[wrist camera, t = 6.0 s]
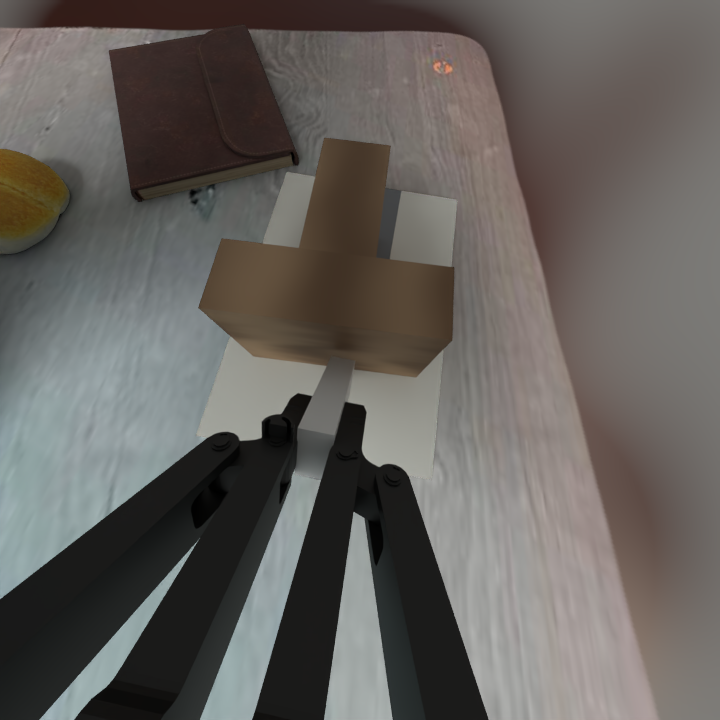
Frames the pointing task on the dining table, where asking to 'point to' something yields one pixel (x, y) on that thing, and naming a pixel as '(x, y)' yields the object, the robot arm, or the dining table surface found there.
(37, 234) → the bread roll
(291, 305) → the t block
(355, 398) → the mat
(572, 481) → the dining table surface
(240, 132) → the notebook
